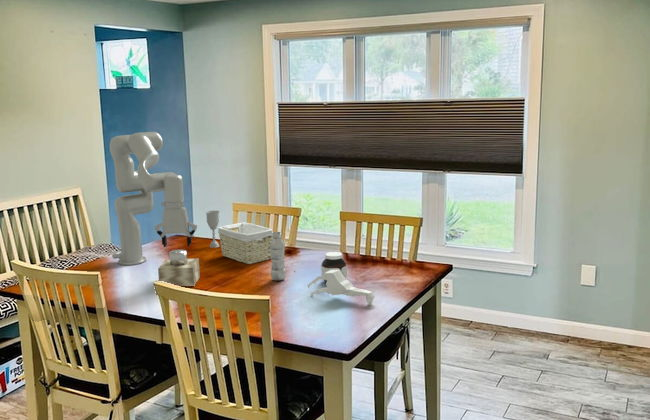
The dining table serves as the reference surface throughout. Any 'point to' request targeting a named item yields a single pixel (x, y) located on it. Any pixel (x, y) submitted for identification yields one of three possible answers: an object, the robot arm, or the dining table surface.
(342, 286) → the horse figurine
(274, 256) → the plastic bottle
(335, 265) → the spread jar
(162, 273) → the block
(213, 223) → the chalice
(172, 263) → the silver metal cylinder
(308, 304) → the dining table surface
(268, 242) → the storage basket
